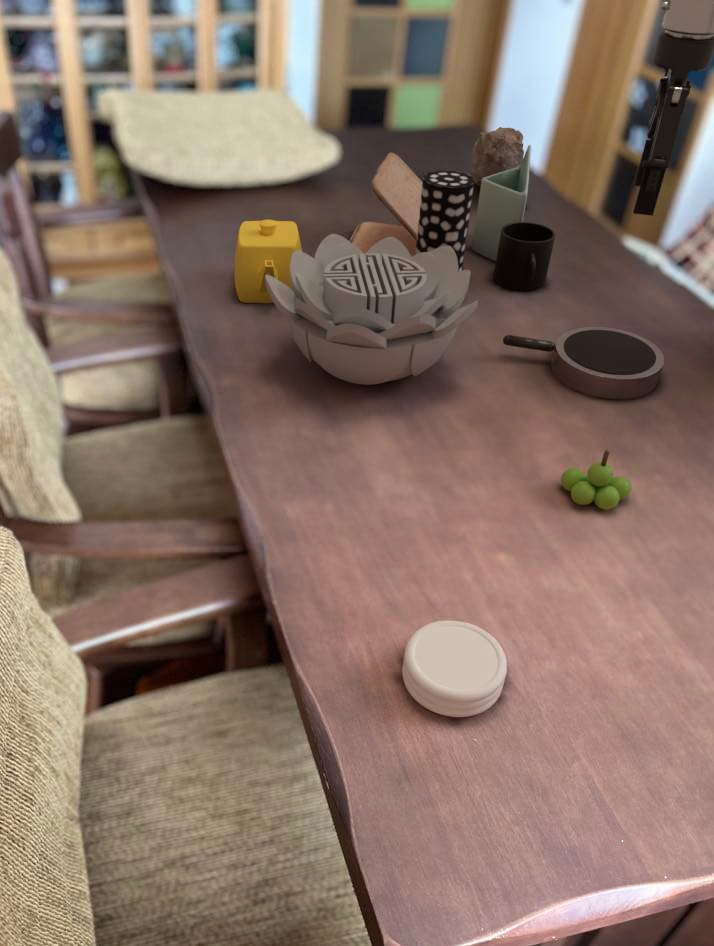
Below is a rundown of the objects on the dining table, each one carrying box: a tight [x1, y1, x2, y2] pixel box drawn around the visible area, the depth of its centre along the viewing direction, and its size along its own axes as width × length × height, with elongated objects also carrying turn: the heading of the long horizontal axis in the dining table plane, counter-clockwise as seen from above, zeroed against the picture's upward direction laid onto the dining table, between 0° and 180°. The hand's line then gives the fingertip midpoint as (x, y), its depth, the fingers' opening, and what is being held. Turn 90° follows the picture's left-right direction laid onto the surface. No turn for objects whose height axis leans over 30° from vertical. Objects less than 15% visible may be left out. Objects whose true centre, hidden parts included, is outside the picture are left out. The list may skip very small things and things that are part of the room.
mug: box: [493, 221, 556, 292], centre depth 148 cm, size 9×12×9 cm
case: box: [348, 152, 423, 257], centre depth 155 cm, size 20×21×16 cm
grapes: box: [560, 449, 633, 511], centre depth 101 cm, size 9×5×8 cm, turn 73°
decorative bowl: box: [265, 233, 479, 386], centre depth 123 cm, size 30×30×15 cm
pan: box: [502, 326, 665, 400], centre depth 127 cm, size 24×16×4 cm, turn 73°
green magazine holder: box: [471, 144, 532, 263], centre depth 155 cm, size 16×8×20 cm, turn 172°
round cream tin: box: [401, 619, 508, 718], centre depth 81 cm, size 10×10×4 cm
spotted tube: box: [415, 169, 475, 272], centre depth 140 cm, size 8×8×20 cm
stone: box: [470, 126, 532, 188], centre depth 180 cm, size 22×10×15 cm, turn 8°
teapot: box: [233, 218, 303, 304], centre depth 144 cm, size 20×12×12 cm, turn 1°
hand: (643, 199), depth 124 cm, fingers open, 12 cm apart
